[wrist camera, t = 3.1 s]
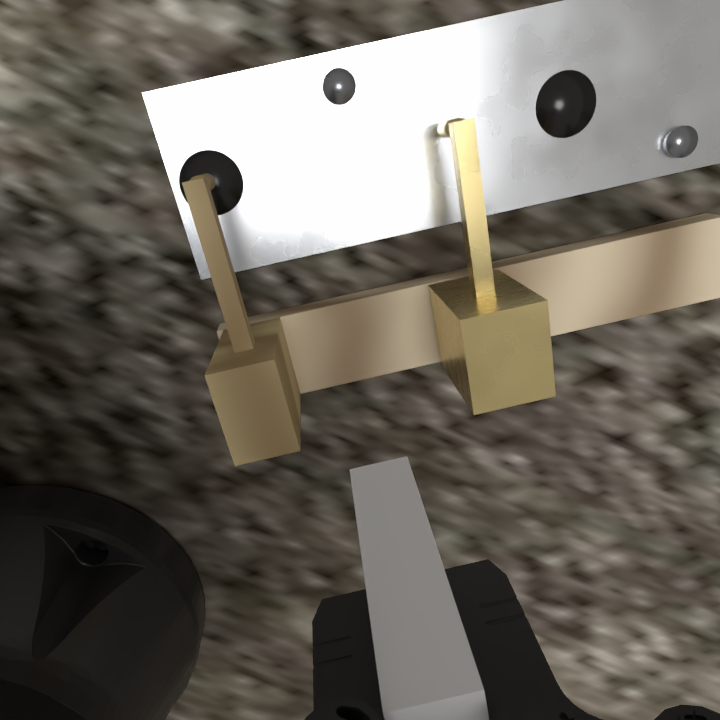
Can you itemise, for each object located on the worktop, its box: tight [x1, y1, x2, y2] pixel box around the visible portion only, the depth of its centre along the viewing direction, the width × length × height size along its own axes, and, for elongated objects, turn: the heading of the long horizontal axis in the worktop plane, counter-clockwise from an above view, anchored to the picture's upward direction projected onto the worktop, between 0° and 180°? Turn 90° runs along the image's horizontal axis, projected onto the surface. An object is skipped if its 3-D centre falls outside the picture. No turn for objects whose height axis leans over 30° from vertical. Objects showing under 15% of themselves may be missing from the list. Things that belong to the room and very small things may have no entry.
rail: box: [182, 173, 720, 466], centre depth 21 cm, size 22×10×6 cm, turn 102°
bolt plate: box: [142, 0, 720, 280], centre depth 22 cm, size 22×7×1 cm, turn 102°
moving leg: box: [428, 118, 556, 415], centre depth 20 cm, size 3×10×5 cm, turn 12°
